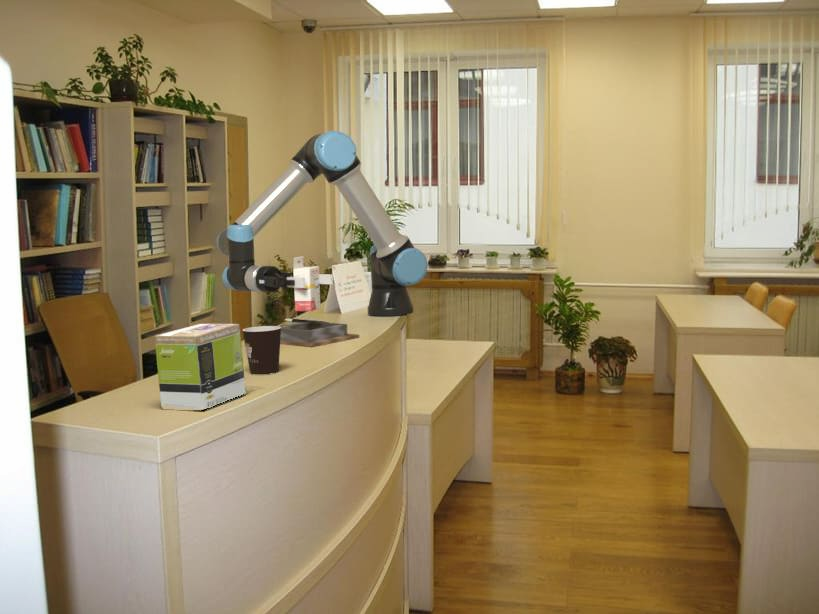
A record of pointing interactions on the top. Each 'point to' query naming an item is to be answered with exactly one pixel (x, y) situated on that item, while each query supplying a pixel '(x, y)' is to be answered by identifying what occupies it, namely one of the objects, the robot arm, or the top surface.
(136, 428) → the top surface
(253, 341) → the coffee mug
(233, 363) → the tea box
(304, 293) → the ink cartridge box
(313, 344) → the cartridge holder
